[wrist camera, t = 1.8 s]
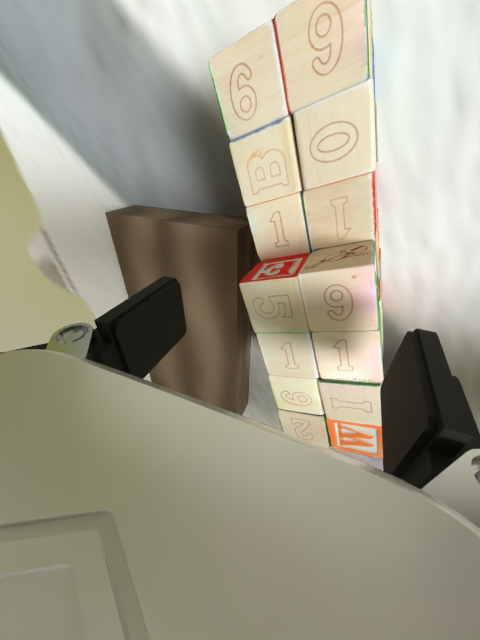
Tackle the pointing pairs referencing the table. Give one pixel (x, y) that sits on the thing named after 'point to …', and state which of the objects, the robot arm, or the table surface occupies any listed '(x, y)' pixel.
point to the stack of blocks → (311, 214)
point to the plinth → (194, 295)
